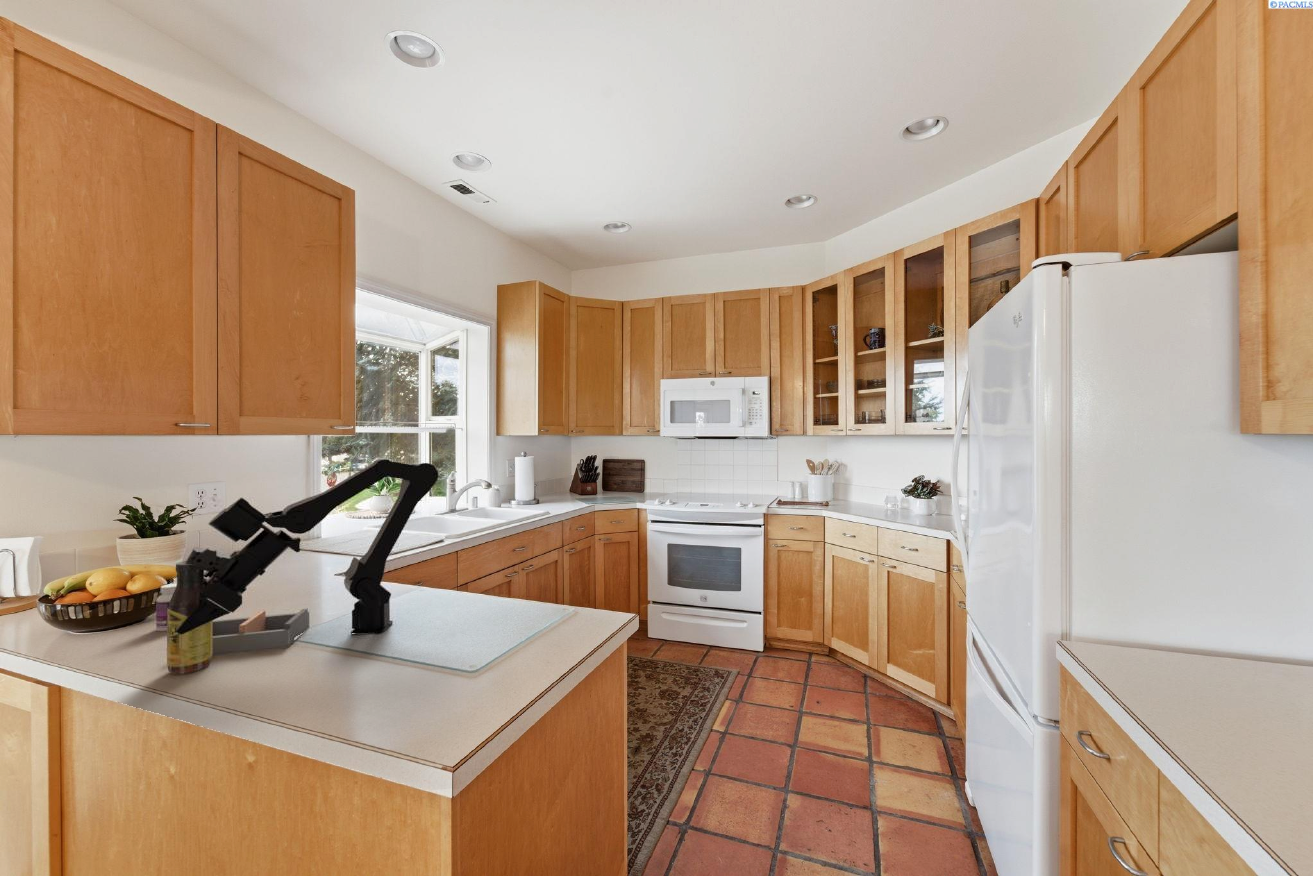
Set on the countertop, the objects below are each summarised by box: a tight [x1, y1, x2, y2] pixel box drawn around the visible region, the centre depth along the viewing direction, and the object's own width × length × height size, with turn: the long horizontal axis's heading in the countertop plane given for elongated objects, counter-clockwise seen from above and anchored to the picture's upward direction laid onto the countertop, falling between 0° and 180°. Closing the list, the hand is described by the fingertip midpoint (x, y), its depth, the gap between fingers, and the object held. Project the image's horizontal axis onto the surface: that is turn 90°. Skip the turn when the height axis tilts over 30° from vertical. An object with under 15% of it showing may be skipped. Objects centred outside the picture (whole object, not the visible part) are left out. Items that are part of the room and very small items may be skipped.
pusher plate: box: [239, 610, 267, 634], centre depth 108 cm, size 1×9×4 cm, turn 17°
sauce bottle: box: [166, 560, 214, 675], centre depth 95 cm, size 6×6×20 cm
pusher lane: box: [211, 608, 310, 657], centre depth 107 cm, size 18×12×4 cm, turn 107°
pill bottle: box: [155, 582, 177, 632], centre depth 117 cm, size 5×5×10 cm
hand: (180, 626), depth 94 cm, fingers open, 9 cm apart
